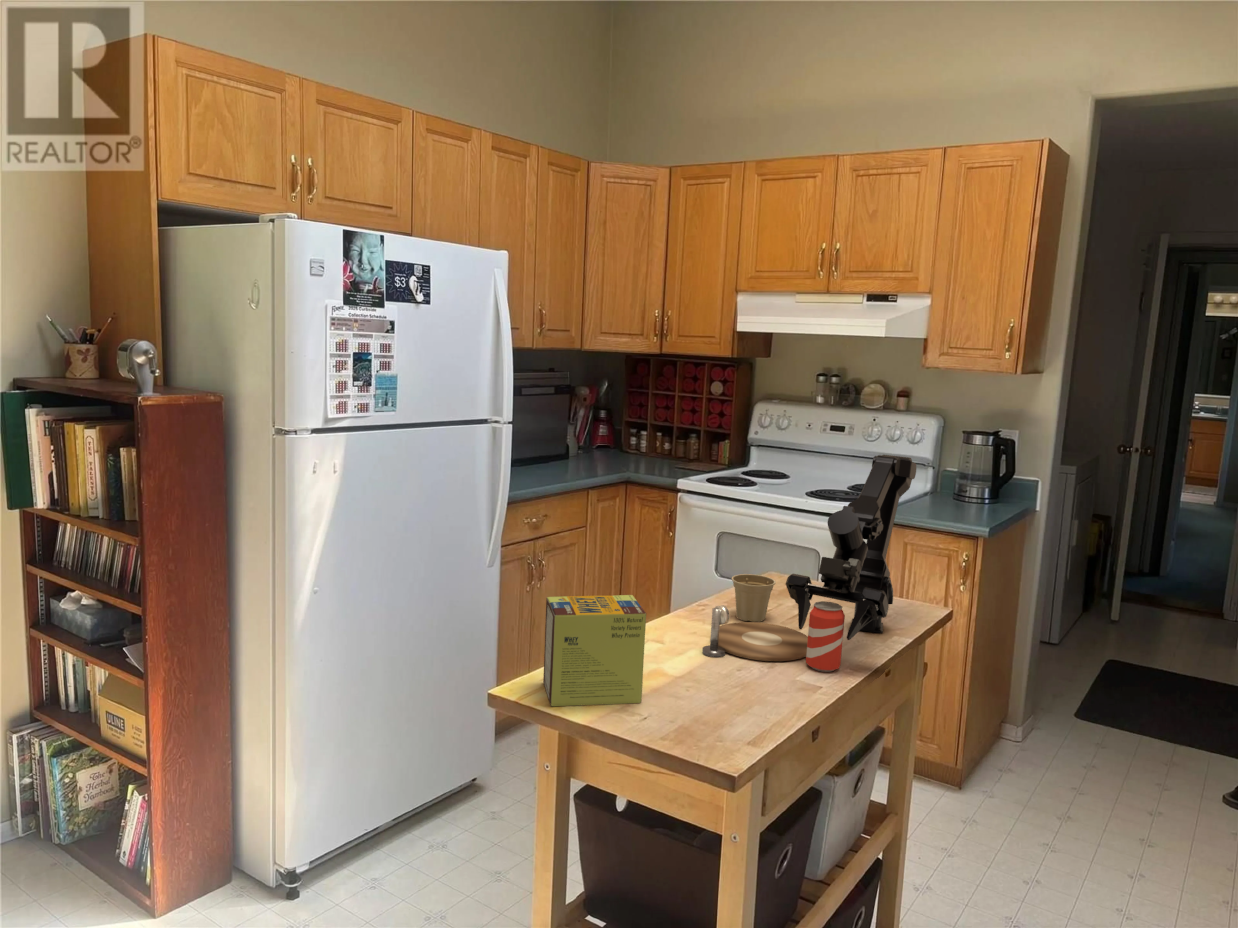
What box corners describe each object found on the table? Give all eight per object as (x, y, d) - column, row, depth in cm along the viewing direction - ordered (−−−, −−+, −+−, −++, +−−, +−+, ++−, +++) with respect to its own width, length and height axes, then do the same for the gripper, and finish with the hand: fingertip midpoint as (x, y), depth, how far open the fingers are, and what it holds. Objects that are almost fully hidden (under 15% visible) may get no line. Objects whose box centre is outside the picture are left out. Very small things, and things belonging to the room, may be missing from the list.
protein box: (642, 703, 149) (647, 613, 147) (550, 707, 146) (553, 614, 143) (628, 679, 159) (633, 594, 157) (541, 682, 156) (545, 595, 153)
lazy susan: (720, 621, 192) (720, 616, 192) (816, 634, 187) (816, 629, 187) (702, 651, 173) (702, 647, 173) (808, 667, 168) (808, 662, 168)
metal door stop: (710, 658, 171) (713, 611, 169) (697, 650, 175) (700, 604, 173) (729, 655, 173) (733, 608, 171) (716, 647, 177) (719, 602, 175)
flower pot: (741, 608, 203) (744, 571, 202) (780, 617, 198) (783, 579, 196) (721, 618, 195) (723, 579, 194) (760, 628, 190) (763, 588, 189)
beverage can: (803, 659, 172) (808, 599, 171) (837, 662, 172) (843, 602, 170) (807, 671, 166) (812, 609, 165) (842, 674, 166) (848, 611, 164)
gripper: (792, 532, 174) (767, 600, 166) (890, 548, 164) (867, 621, 157) (803, 564, 182) (779, 631, 174) (897, 581, 172) (876, 652, 164)
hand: (823, 633), depth 167 cm, fingers open, 9 cm apart
